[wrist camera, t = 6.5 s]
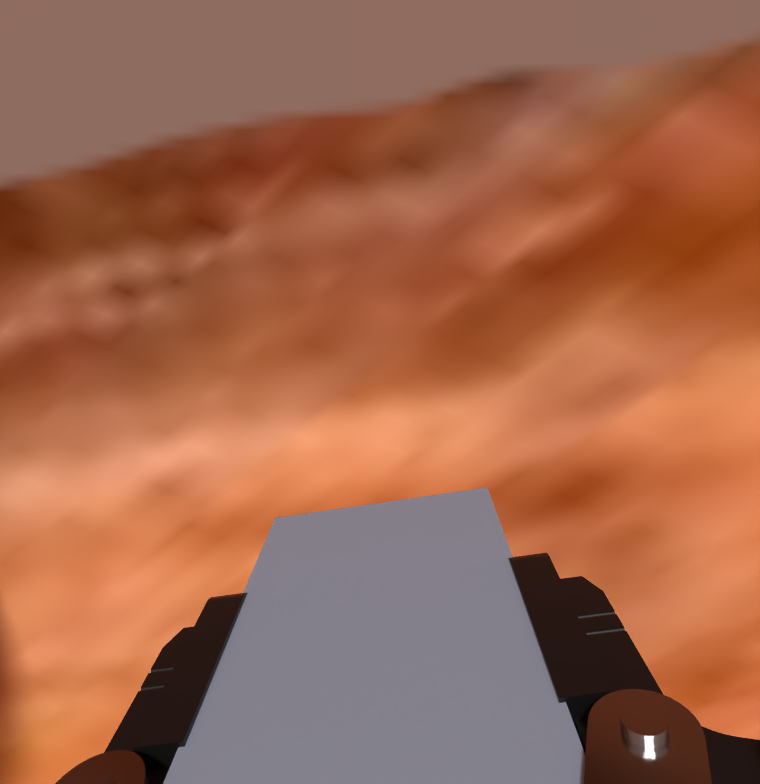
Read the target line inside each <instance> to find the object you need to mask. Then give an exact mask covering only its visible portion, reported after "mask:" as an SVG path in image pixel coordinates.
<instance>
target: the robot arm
mask: <svg viewBox="0 0 760 784" xmlns="http://www.w3.org/2000/svg"><path fill="white" fill-rule="evenodd" d="M508 559H509V562H510V565H511V568H512V570H513V573H514V576H515V579H516V582H517V585H518V587H519V590H520V593H521V596H522V599H523V602H524V605H525V607H526V610H527V613H528V616H529V619H530V622H531V625H532V627H533V630H534V633H535V636H536V639H537V642H538V644H539V647H540V650H541V653H542V656H543V659H544V662H545V664H546V667H547V670H548V673H549V676H550V679H551V681H552V684H553V687H554V690H555V693H556V696H557V699H558V701H559V703H563V702H566V704H567V706H568V709H569V712H570V715H571V717H572V720H573V723H574V726H575V728H576V731H577V734H578V736H579V739H580V742H581V745H582V747H583V750H584V753H585V769H584V784H760V740H755V739H748V738H741V737H735V736H730V735H725V734H722V733H718V732H715V731H712V730H710V729H707V728H705V727H702V726H701V725H700V723H699V721H698V720H697V719H696V717H695V716H694V715H693V714H692V713H691V712H690V711H689V710H688V709H687V708H686V707H684V706H683V705H682V704H680V703H679V702H677V701H675V700H674V699H672V698H670V697H667V696H665V695H663V693H662V691H661V690H660V688H659V686H658V685H657V683H656V681H655V679H654V678H653V676H652V674H651V673H650V671H649V669H648V667H647V666H646V664H645V662H644V661H643V659H642V657H641V655H640V654H639V652H638V650H637V649H636V647H635V645H634V643H633V642H632V640H631V638H630V637H629V635H628V633H627V631H625V630H624V626H623V625H622V623H621V621H620V619H619V618H618V616H617V614H616V615H615V612H614V609H613V607H612V606H611V604H610V602H609V601H608V599H607V597H606V595H605V594H604V592H603V591H602V590H601V589H599V588H598V587H596V586H595V585H594V584H592V583H591V582H589V581H588V580H586V579H585V578H584V577H582V576H579V577H572V578H564V579H560V578H559V576H558V574H557V572H556V569H555V567H554V565H553V563H552V561H551V559H550V557H549V555H548V554H547V553H541V554H534V555H526V556H519V557H511V558H508ZM246 596H247V593H240V594H233V595H225V596H218V597H211V598H210V599H209V600H208V601H207V603H206V605H205V607H204V609H203V611H202V613H201V614H200V616H199V618H198V620H197V622H196V624H195V626H194V627H188V628H183V629H182V630H181V631H180V632H179V633H178V634H177V635H176V636H175V637H174V638H173V639H172V640H171V641H169V642H168V643H167V644H166V645H165V646H164V647H163V648H162V650H161V652H160V654H159V656H158V657H157V659H156V661H155V663H154V665H153V666H152V668H151V673H149V674H148V675H147V677H146V679H145V681H144V682H143V684H142V686H141V691H138V693H137V695H136V697H135V699H134V700H133V702H132V704H131V706H130V708H129V709H128V711H127V713H126V715H125V716H124V718H123V720H122V722H121V724H120V725H119V727H118V729H117V731H116V733H115V734H114V736H113V738H112V740H111V742H110V743H109V745H108V747H107V749H106V750H105V752H104V753H102V754H99V755H96V756H94V757H91V758H89V759H87V760H86V761H84V762H82V763H80V764H79V765H77V766H76V767H74V768H73V769H71V770H70V771H69V772H67V773H66V774H65V775H64V776H63V777H62V778H61V779H60V780H58V781H57V782H56V783H55V784H163V783H164V780H165V778H166V776H167V773H168V771H169V768H170V766H171V764H172V761H173V759H174V757H175V754H176V752H177V749H178V747H185V745H186V742H187V740H188V738H189V735H190V733H191V730H192V728H193V725H194V723H195V720H196V718H197V716H198V713H199V711H200V708H201V706H202V703H203V701H204V698H205V696H206V693H207V691H208V689H209V686H210V684H211V681H212V679H213V676H214V674H215V671H216V669H217V667H218V664H219V662H220V659H221V657H222V654H223V652H224V649H225V647H226V645H227V642H228V640H229V637H230V635H231V632H232V630H233V627H234V625H235V623H236V620H237V618H238V615H239V613H240V610H241V608H242V605H243V603H244V601H245V598H246Z"/></svg>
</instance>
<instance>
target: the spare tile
mask: <svg viewBox="0 0 760 784" xmlns="http://www.w3.org/2000/svg"><path fill="white" fill-rule="evenodd" d="M511 557H513V556H512V554H511V551H510V548H509V546H508V543H507V540H506V537H505V535H504V532H503V529H502V526H501V524H500V521H499V518H498V516H497V513H496V510H495V507H494V505H493V502H492V499H491V496H490V494H489V491H488V488H481V489H474V490H467V491H460V492H453V493H446V494H439V495H432V496H425V497H418V498H411V499H404V500H397V501H390V502H383V503H376V504H369V505H362V506H355V507H348V508H341V509H334V510H327V511H320V512H313V513H306V514H299V515H292V516H285V517H278V518H275V519H274V522H273V524H272V526H271V529H270V531H269V533H268V536H267V538H266V541H265V543H264V545H263V548H262V550H261V552H260V555H259V557H258V560H257V562H256V564H255V567H254V569H253V571H252V574H251V576H250V579H249V581H248V583H247V586H246V588H245V590H244V593H247V596H246V598H245V601H244V603H243V605H242V608H241V610H240V613H239V615H238V618H237V620H236V623H235V625H234V627H233V630H232V632H231V635H230V637H229V640H228V642H227V645H226V647H225V649H224V652H223V654H222V657H221V659H220V662H219V664H218V667H217V669H216V671H215V674H214V676H213V679H212V681H211V684H210V686H209V689H208V691H207V693H206V696H205V698H204V701H203V703H202V706H201V708H200V711H199V713H198V716H197V718H196V720H195V723H194V725H193V728H192V730H191V733H190V735H189V738H188V740H187V742H186V745H185V747H178V749H177V752H176V754H175V757H174V759H173V761H172V764H171V766H170V768H169V771H168V773H167V776H166V778H165V780H164V783H163V784H584V769H585V753H584V750H583V747H582V745H581V742H580V739H579V736H578V734H577V731H576V728H575V726H574V723H573V720H572V717H571V715H570V712H569V709H568V706H567V704H566V702H563V703H559V701H558V699H557V696H556V693H555V690H554V687H553V684H552V681H551V679H550V676H549V673H548V670H547V667H546V664H545V662H544V659H543V656H542V653H541V650H540V647H539V644H538V642H537V639H536V636H535V633H534V630H533V627H532V625H531V622H530V619H529V616H528V613H527V610H526V607H525V605H524V602H523V599H522V596H521V593H520V590H519V587H518V585H517V582H516V579H515V576H514V573H513V570H512V568H511V565H510V562H509V559H508V558H511Z"/></svg>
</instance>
